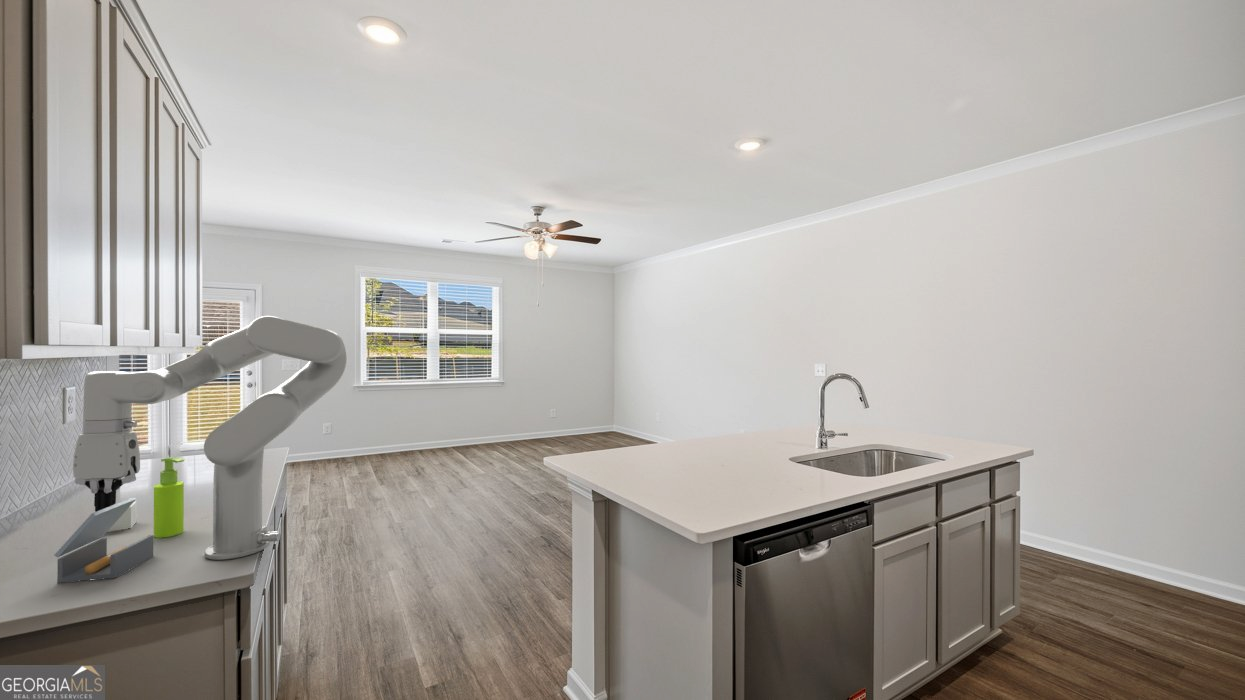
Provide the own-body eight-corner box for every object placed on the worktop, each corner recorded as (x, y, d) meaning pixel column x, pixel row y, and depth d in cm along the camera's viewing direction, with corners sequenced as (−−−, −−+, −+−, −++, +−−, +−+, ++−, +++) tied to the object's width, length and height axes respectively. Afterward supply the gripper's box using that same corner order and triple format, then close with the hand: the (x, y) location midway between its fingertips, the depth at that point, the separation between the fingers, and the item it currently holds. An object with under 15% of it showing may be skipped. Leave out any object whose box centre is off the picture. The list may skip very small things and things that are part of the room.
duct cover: (136, 499, 119) (133, 497, 119) (95, 515, 107) (91, 513, 107) (102, 536, 118) (99, 534, 117) (57, 557, 106) (53, 555, 106)
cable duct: (153, 556, 120) (153, 534, 120) (114, 578, 108) (114, 554, 108) (102, 559, 118) (102, 538, 118) (57, 583, 106) (57, 559, 106)
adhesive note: (136, 522, 143) (137, 501, 143) (131, 528, 138) (131, 506, 138) (107, 526, 140) (107, 504, 140) (100, 532, 135) (100, 510, 135)
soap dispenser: (168, 539, 131) (169, 461, 131) (147, 536, 132) (147, 459, 132) (192, 531, 136) (192, 456, 136) (171, 529, 138) (171, 455, 138)
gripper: (158, 424, 118) (156, 503, 118) (80, 424, 115) (78, 506, 115) (134, 429, 111) (132, 513, 111) (51, 429, 108) (48, 516, 107)
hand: (104, 509), depth 113 cm, fingers closed
